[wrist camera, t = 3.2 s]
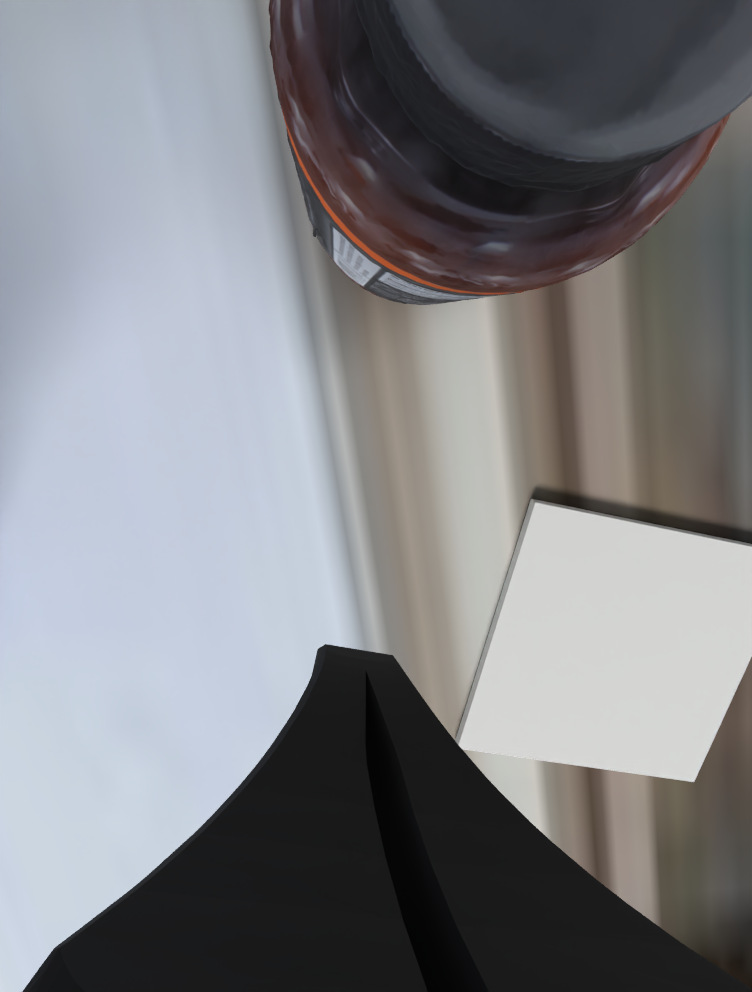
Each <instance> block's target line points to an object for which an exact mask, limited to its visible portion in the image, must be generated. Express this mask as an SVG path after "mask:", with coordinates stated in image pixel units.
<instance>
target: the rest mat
mask: <svg viewBox="0 0 752 992" xmlns="http://www.w3.org/2000/svg"><path fill="white" fill-rule="evenodd" d="M751 657H752V544H750V543H745V542H740V541H735V540H730V539H725V538H720V537H715V536H711V535H706V534H701V533H696V532H691V531H686V530H681V529H677V528H672V527H667V526H662V525H657V524H652V523H647V522H642V521H638V520H633V519H628V518H623V517H618V516H613V515H608V514H604V513H599V512H594V511H589V510H584V509H579V508H574V507H570V506H565V505H560V504H555V503H550V502H545V501H540V500H535V499H531V500H530V503H529V507H528V510H527V513H526V516H525V519H524V523H523V526H522V529H521V532H520V535H519V538H518V542H517V545H516V548H515V551H514V554H513V558H512V561H511V564H510V567H509V570H508V574H507V577H506V580H505V583H504V586H503V589H502V593H501V596H500V599H499V602H498V605H497V609H496V612H495V615H494V618H493V621H492V625H491V628H490V631H489V634H488V637H487V641H486V644H485V647H484V650H483V653H482V656H481V660H480V663H479V666H478V669H477V672H476V676H475V679H474V682H473V685H472V688H471V692H470V695H469V698H468V701H467V704H466V707H465V711H464V714H463V717H462V720H461V723H460V727H459V730H458V733H457V736H456V739H455V741H456V743H457V744H458V745H459V746H460V748H461V749H464V750H471V751H478V752H486V753H493V754H500V755H507V756H514V757H521V758H528V759H535V760H542V761H549V762H556V763H563V764H570V765H577V766H584V767H592V768H599V769H606V770H613V771H620V772H627V773H634V774H641V775H648V776H655V777H662V778H669V779H676V780H683V781H690V782H694V781H695V779H696V777H697V774H698V772H699V770H700V768H701V766H702V764H703V761H704V759H705V757H706V755H707V753H708V750H709V748H710V746H711V744H712V742H713V740H714V737H715V735H716V733H717V731H718V729H719V726H720V724H721V722H722V720H723V718H724V715H725V713H726V711H727V709H728V707H729V705H730V702H731V700H732V698H733V696H734V694H735V691H736V689H737V687H738V685H739V683H740V681H741V678H742V676H743V674H744V672H745V670H746V667H747V665H748V663H749V661H750V659H751Z"/></svg>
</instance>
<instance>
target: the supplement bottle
mask: <svg viewBox="0 0 752 992" xmlns="http://www.w3.org/2000/svg"><path fill="white" fill-rule="evenodd" d="M269 14H270V27H271V40H270V50H271V55H272V59H273V69H274V75H275V80H276V85H277V90H278V98H279V101H280V105H281V108H282V112H283V116H284V119H285V123H286V127H287V136H288V142H289V145H290V148H291V151H292V155H293V158H294V162H295V165H296V170H297V173H298V177H299V180H300V184H301V188H302V192H303V195H304V200H305V205H306V208H307V212H308V216H309V219H310V221H311V223H312V225H313V236H314V237H316V235H317V238H318V240H319V242H320V243H321V245H322V246H323V248H324V249H325V250H326V251H327V253H328V254H329V256H330V257H331V258H332V259H333V261H334V262H335V263H336V264H337V266H338V267H339V268H340V269H341V271H343V272H344V273H345V274H346V275H347V276H349V278H350V279H351V280H352V281H354V282H356V283H357V284H359V285H360V286H361V287H362V288H364V289H365V290H368V291H369V292H371V293H373V294H375V295H377V296H379V297H382V298H385V299H388V300H391V301H395V302H400V303H404V304H407V303H408V304H418V305H429V304H440V303H447V302H455V301H460V300H469V299H478V298H483V297H489V296H497V295H506V294H515V293H521V292H524V291H527V290H533V289H538V288H542V287H545V286H549V285H552V284H556V283H559V282H562V281H564V280H567V279H569V278H572V277H574V276H577V275H579V274H582V273H584V272H587V271H589V270H591V269H593V268H595V267H597V266H599V265H600V264H602V263H604V262H606V261H607V260H609V259H610V258H612V257H614V256H615V255H617V254H618V253H620V252H622V251H623V250H625V249H626V248H628V247H629V246H631V245H632V244H634V243H635V242H636V241H637V240H638V239H639V238H641V237H642V236H644V235H645V234H646V233H647V231H648V230H649V229H650V228H651V227H653V226H654V225H655V224H657V223H658V222H659V221H660V219H661V218H662V217H663V216H664V215H665V214H666V213H667V212H668V211H669V210H670V209H671V208H672V207H673V206H674V205H675V203H676V202H677V201H678V200H679V199H680V197H681V196H682V195H683V194H684V192H685V191H686V190H687V188H688V187H689V186H690V184H691V183H692V181H693V180H694V179H695V177H696V176H697V175H698V173H699V172H700V170H701V169H702V167H703V166H704V164H705V163H706V161H707V160H708V158H709V156H710V154H711V152H712V151H713V149H714V147H715V145H716V144H717V142H718V140H719V138H720V136H721V134H722V131H723V129H724V127H725V125H726V124H727V121H728V119H729V116H730V114H731V112H732V111H734V110H735V109H736V108H737V107H738V106H740V105H741V104H742V103H743V102H745V101H746V100H747V99H748V98H749V97H751V96H752V0H270V3H269Z"/></svg>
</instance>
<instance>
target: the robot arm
mask: <svg viewBox="0 0 752 992" xmlns="http://www.w3.org/2000/svg"><path fill="white" fill-rule="evenodd" d="M23 992H752V989H751V988H750V987H748V986H747V985H745V984H744V983H742V982H741V981H739V980H737V979H736V978H734V977H733V976H731V975H730V974H728V973H727V972H725V971H724V970H722V969H720V968H719V967H717V966H716V965H714V964H713V963H711V962H710V961H708V960H707V959H705V958H703V957H702V956H700V955H699V954H697V953H696V952H694V951H693V950H691V949H690V948H688V947H687V946H685V945H684V944H682V943H681V942H679V941H678V940H676V939H675V938H674V937H672V936H671V935H669V934H668V933H667V932H665V931H664V930H663V929H661V928H660V927H659V926H657V925H656V924H654V923H653V922H652V921H650V920H649V919H648V918H646V917H645V916H643V915H642V914H641V913H639V912H638V911H637V910H635V909H634V908H633V907H631V906H630V905H628V904H627V903H626V902H624V901H623V900H622V899H621V898H619V897H618V896H617V895H615V894H614V893H613V892H612V891H610V890H609V889H608V888H606V887H605V886H604V885H603V884H601V883H600V882H599V881H598V880H596V879H595V878H594V877H593V876H591V875H590V874H589V873H588V872H587V871H585V870H584V869H583V868H582V867H581V866H580V865H578V864H577V863H576V862H575V861H574V860H572V859H571V858H570V857H569V856H568V855H567V854H565V853H564V852H563V851H562V850H561V849H560V848H558V847H557V846H556V845H555V844H554V843H552V842H551V841H550V840H549V839H548V838H547V837H546V836H545V835H544V834H543V833H542V832H540V831H539V830H538V829H537V828H536V827H535V826H534V825H533V824H532V823H531V822H530V821H529V820H528V819H527V818H526V817H525V816H524V815H523V814H522V813H521V812H520V811H519V810H518V809H517V808H516V807H515V806H514V805H512V804H511V803H510V802H509V801H508V800H507V799H506V798H505V797H504V796H503V795H502V794H501V793H500V792H499V791H498V789H497V788H496V787H495V786H494V785H493V784H492V783H491V782H490V781H489V780H488V779H487V778H486V777H485V775H484V774H483V773H482V772H481V771H480V770H479V769H478V767H477V766H476V765H475V764H474V763H473V762H472V760H471V759H470V758H469V757H468V756H467V755H466V753H465V752H464V751H463V750H462V749H461V748H460V746H459V745H458V744H457V743H456V741H455V740H454V739H453V738H452V736H451V735H450V734H449V733H448V731H447V730H446V729H445V728H444V726H443V725H442V724H441V722H440V721H439V720H438V718H437V717H436V716H435V714H434V713H433V712H432V710H431V709H430V708H429V706H428V705H427V703H426V702H425V701H424V699H423V698H422V697H421V695H420V694H419V692H418V691H417V689H416V688H415V687H414V685H413V684H412V682H411V681H410V679H409V678H408V676H407V675H406V674H405V672H404V671H403V669H402V668H401V666H400V665H399V663H398V662H397V661H396V659H395V658H394V656H393V655H388V654H381V653H375V652H369V651H363V650H357V649H351V648H345V647H339V646H333V645H326V644H325V645H324V646H322V647H320V648H319V649H318V651H317V655H316V660H315V664H314V668H313V673H312V676H311V679H310V681H309V684H308V686H307V688H306V689H305V691H304V693H303V695H302V697H301V699H300V701H299V703H298V705H297V706H296V708H295V710H294V712H293V713H292V715H291V717H290V718H289V720H288V721H287V723H286V724H285V726H284V727H283V729H282V730H281V732H280V733H279V735H278V736H277V738H276V739H275V741H274V742H273V744H272V745H271V747H270V748H269V749H268V751H267V752H266V753H265V755H264V756H263V757H262V759H261V760H260V761H259V763H258V764H257V765H256V766H255V768H254V769H253V770H252V771H251V772H250V774H249V775H248V776H247V777H246V779H245V780H244V781H243V782H242V783H241V785H240V786H239V787H238V788H237V789H236V790H235V791H234V792H233V793H232V794H231V796H230V797H229V798H228V799H227V800H226V801H225V802H224V803H223V804H222V805H221V807H220V808H219V809H218V810H217V811H216V812H215V813H214V814H213V815H212V816H211V817H210V818H209V819H208V820H207V821H206V822H205V823H204V824H203V825H202V826H201V827H200V828H199V829H198V830H197V831H196V832H195V833H194V834H193V835H192V836H191V837H190V838H189V839H188V840H186V841H185V842H184V843H183V844H182V845H181V846H180V847H179V848H178V849H176V850H175V851H174V852H173V853H172V854H171V855H170V856H169V857H168V858H166V859H165V860H164V861H163V862H162V863H161V864H160V865H159V866H158V867H157V868H155V869H154V870H153V871H152V872H151V873H150V874H149V875H148V876H147V877H145V878H144V879H143V880H142V881H141V882H139V883H138V884H137V885H136V886H135V887H133V888H132V889H131V890H130V891H128V892H127V893H126V894H125V895H123V896H122V897H121V898H119V899H118V900H117V901H115V902H114V903H113V904H111V905H110V906H109V907H108V908H106V909H105V910H104V911H102V912H101V913H100V914H98V915H97V916H96V917H95V918H93V919H92V920H91V921H89V922H88V923H87V924H85V925H84V926H83V927H82V928H80V929H79V930H78V931H76V932H75V933H74V934H72V935H71V936H70V937H68V938H67V939H66V940H65V941H63V942H62V943H60V944H59V945H58V946H57V947H55V948H54V949H53V951H52V952H51V953H50V955H49V956H48V957H47V959H46V960H45V961H44V963H43V964H42V965H41V967H40V968H39V970H38V971H37V972H36V974H35V975H34V976H33V978H32V979H31V981H30V982H29V983H28V985H27V986H26V988H25V989H24V990H23Z"/></svg>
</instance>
